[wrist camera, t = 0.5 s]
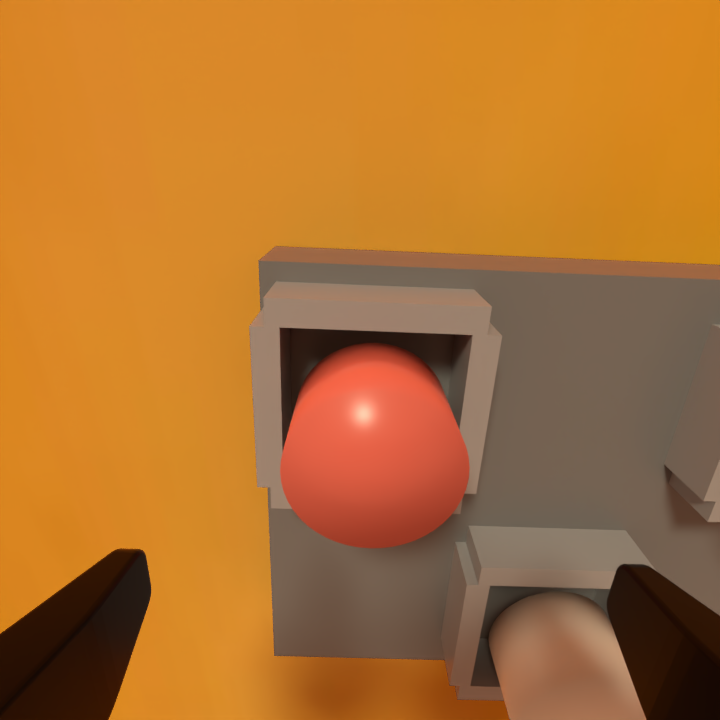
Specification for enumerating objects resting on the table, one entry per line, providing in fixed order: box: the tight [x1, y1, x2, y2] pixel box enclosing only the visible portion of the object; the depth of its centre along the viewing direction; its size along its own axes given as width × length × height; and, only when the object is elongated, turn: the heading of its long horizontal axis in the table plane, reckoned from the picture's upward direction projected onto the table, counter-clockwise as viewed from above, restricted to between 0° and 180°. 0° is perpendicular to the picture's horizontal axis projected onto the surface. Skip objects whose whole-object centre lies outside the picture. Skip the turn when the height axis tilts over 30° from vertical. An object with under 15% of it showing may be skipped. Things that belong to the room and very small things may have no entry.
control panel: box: [249, 246, 720, 701], centre depth 17 cm, size 21×17×5 cm
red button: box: [280, 343, 470, 548], centre depth 12 cm, size 4×4×3 cm
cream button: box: [488, 591, 646, 720], centre depth 16 cm, size 4×4×3 cm
